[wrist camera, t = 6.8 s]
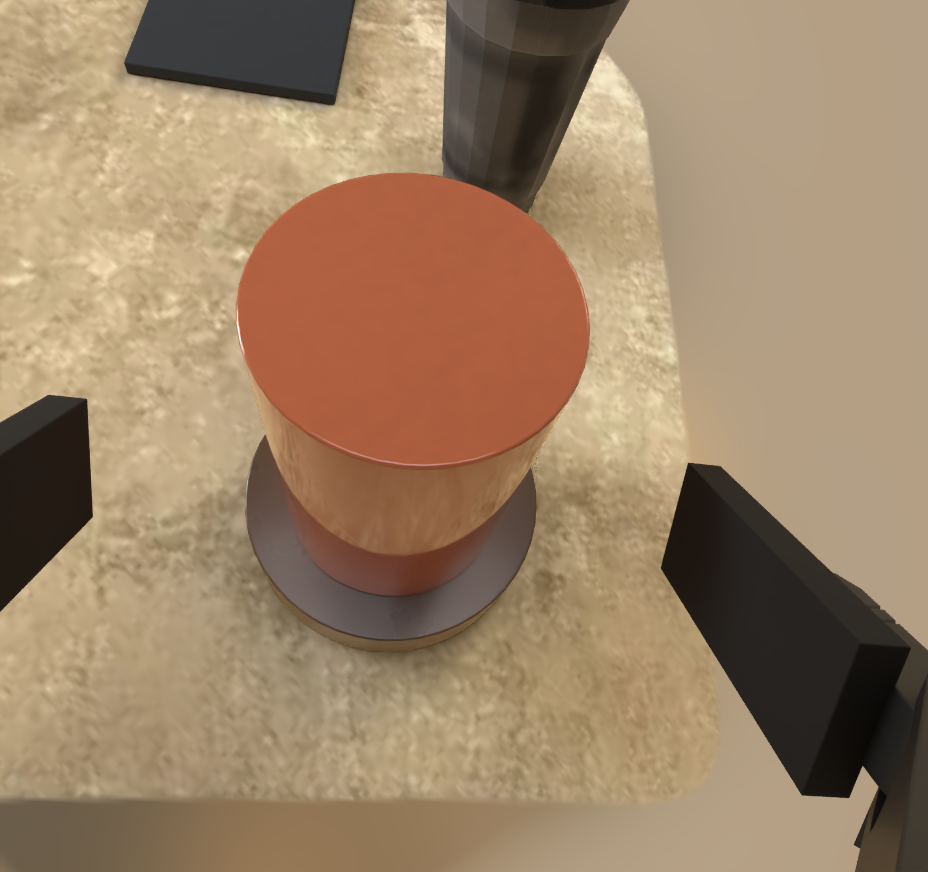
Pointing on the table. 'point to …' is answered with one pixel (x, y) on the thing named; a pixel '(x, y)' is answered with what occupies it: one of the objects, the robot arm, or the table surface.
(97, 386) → the table surface
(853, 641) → the robot arm
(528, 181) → the beverage cup
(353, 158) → the table surface
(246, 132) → the table surface
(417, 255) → the terracotta cylinder
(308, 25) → the mat
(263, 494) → the saucer
